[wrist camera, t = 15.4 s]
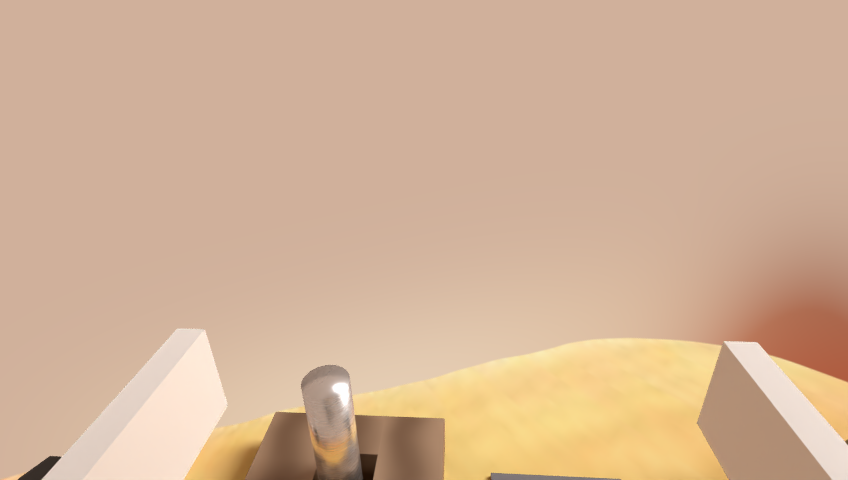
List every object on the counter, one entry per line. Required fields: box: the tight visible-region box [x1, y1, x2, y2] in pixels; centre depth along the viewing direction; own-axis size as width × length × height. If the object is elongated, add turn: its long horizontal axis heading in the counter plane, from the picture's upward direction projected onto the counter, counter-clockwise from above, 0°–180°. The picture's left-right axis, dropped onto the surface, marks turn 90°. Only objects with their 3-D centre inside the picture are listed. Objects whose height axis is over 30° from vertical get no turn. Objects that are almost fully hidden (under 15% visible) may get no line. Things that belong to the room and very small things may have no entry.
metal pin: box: [301, 365, 363, 480], centre depth 38 cm, size 4×4×15 cm
